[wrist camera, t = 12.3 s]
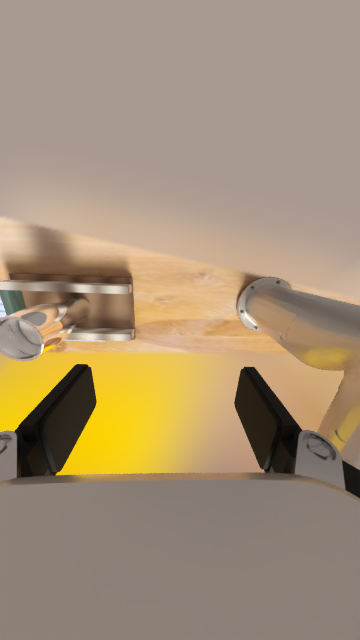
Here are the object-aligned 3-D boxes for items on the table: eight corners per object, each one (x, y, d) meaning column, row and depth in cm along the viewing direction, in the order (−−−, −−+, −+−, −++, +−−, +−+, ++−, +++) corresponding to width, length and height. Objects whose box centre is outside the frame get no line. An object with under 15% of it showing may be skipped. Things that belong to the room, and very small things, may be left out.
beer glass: (71, 327, 38) (9, 368, 23) (54, 298, 35) (-25, 324, 21) (99, 319, 37) (55, 354, 23) (84, 288, 35) (24, 308, 21)
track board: (132, 277, 36) (127, 280, 32) (135, 337, 40) (131, 345, 36) (14, 273, 34) (-7, 274, 30) (31, 335, 39) (15, 343, 35)
